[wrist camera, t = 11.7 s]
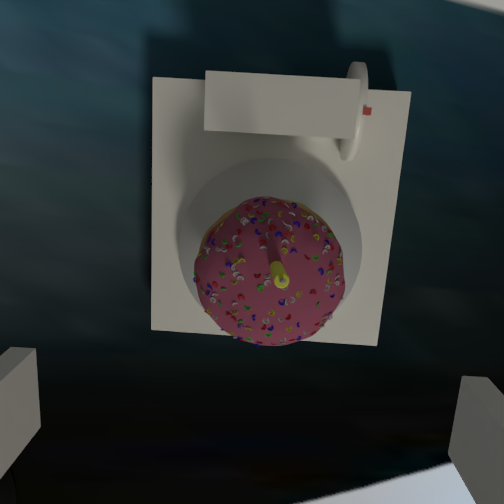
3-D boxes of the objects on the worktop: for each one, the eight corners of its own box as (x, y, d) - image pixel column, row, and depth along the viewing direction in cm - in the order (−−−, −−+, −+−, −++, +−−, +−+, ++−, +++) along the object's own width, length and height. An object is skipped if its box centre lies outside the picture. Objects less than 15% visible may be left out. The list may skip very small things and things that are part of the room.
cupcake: (222, 173, 30) (190, 199, 18) (352, 207, 30) (404, 255, 18) (193, 297, 32) (148, 393, 20) (314, 328, 32) (339, 441, 20)
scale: (160, 313, 36) (130, 363, 29) (163, 61, 32) (128, 39, 24) (368, 328, 36) (394, 382, 28) (401, 75, 32) (443, 56, 24)
